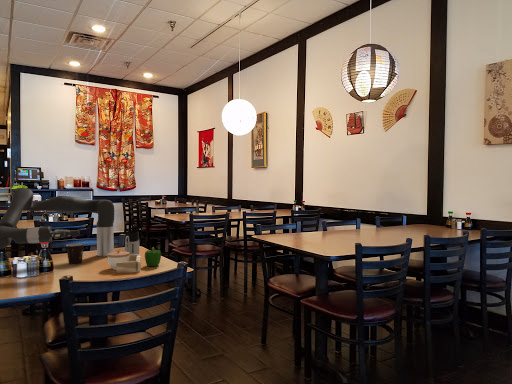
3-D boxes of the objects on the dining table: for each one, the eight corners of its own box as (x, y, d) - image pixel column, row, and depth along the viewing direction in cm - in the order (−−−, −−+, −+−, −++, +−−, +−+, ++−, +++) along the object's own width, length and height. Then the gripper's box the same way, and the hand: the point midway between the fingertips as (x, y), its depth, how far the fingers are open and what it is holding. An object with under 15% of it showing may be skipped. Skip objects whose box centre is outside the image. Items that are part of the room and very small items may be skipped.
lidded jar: (103, 268, 193) (103, 250, 192) (124, 265, 200) (124, 247, 200) (112, 272, 185) (112, 252, 184) (133, 268, 192) (133, 250, 192)
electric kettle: (142, 256, 223) (142, 231, 222) (133, 261, 209) (133, 234, 208) (127, 256, 223) (127, 231, 223) (118, 261, 209) (117, 234, 209)
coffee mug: (73, 261, 210) (73, 243, 210) (87, 261, 208) (87, 243, 208) (58, 265, 198) (58, 246, 198) (73, 266, 197) (72, 247, 196)
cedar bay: (119, 264, 201) (119, 255, 201) (141, 263, 204) (141, 254, 204) (116, 273, 182) (116, 262, 182) (140, 271, 185) (140, 261, 185)
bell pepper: (147, 264, 202) (146, 245, 202) (162, 264, 202) (162, 245, 202) (142, 267, 194) (142, 248, 194) (158, 267, 194) (158, 248, 194)
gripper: (43, 240, 187) (81, 238, 191) (35, 245, 174) (77, 242, 179) (43, 225, 186) (81, 223, 191) (35, 228, 174) (76, 226, 178)
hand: (79, 232), depth 185 cm, fingers closed
